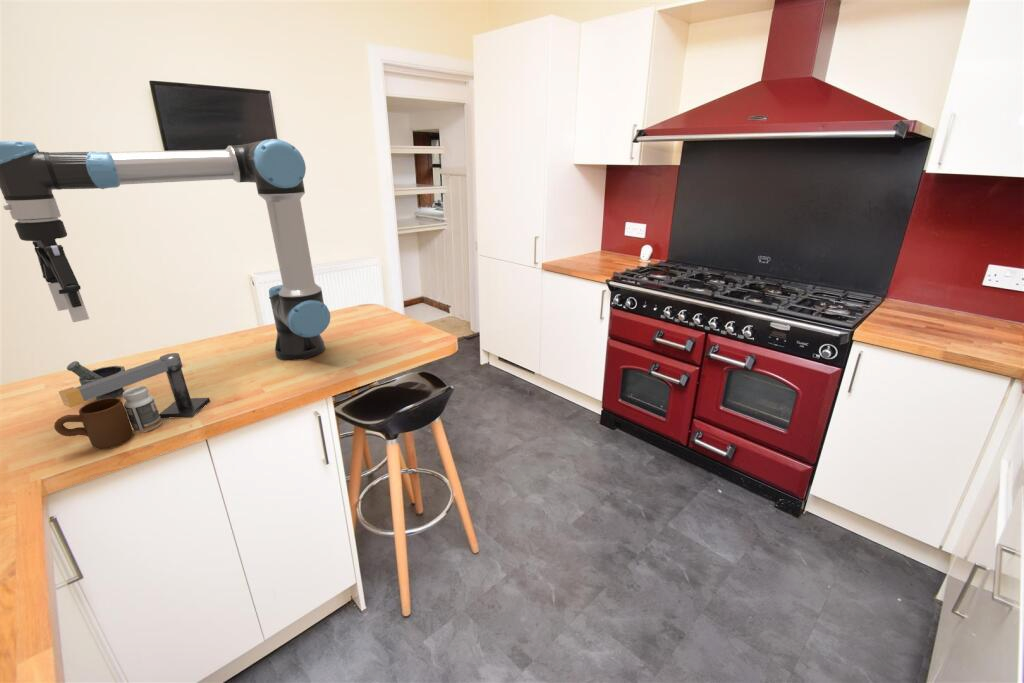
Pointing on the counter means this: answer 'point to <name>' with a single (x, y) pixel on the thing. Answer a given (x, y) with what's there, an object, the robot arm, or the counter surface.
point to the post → (182, 398)
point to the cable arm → (119, 380)
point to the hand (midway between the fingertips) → (73, 314)
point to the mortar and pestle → (97, 376)
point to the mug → (100, 423)
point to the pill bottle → (141, 409)
